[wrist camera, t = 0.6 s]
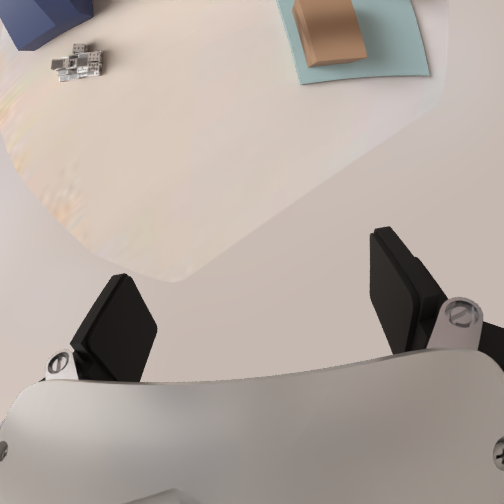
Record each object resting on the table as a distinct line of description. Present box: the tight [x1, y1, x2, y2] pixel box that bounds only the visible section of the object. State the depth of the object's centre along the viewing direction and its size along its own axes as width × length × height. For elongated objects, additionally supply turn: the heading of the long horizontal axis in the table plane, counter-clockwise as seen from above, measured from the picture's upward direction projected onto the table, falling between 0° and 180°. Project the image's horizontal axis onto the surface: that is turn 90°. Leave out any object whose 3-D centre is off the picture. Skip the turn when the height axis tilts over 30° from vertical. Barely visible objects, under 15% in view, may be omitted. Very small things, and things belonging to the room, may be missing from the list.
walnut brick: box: [292, 0, 367, 67], centre depth 24 cm, size 8×6×6 cm
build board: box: [276, 0, 429, 85], centre depth 24 cm, size 22×18×1 cm
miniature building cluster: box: [51, 44, 103, 82], centre depth 25 cm, size 9×9×8 cm
